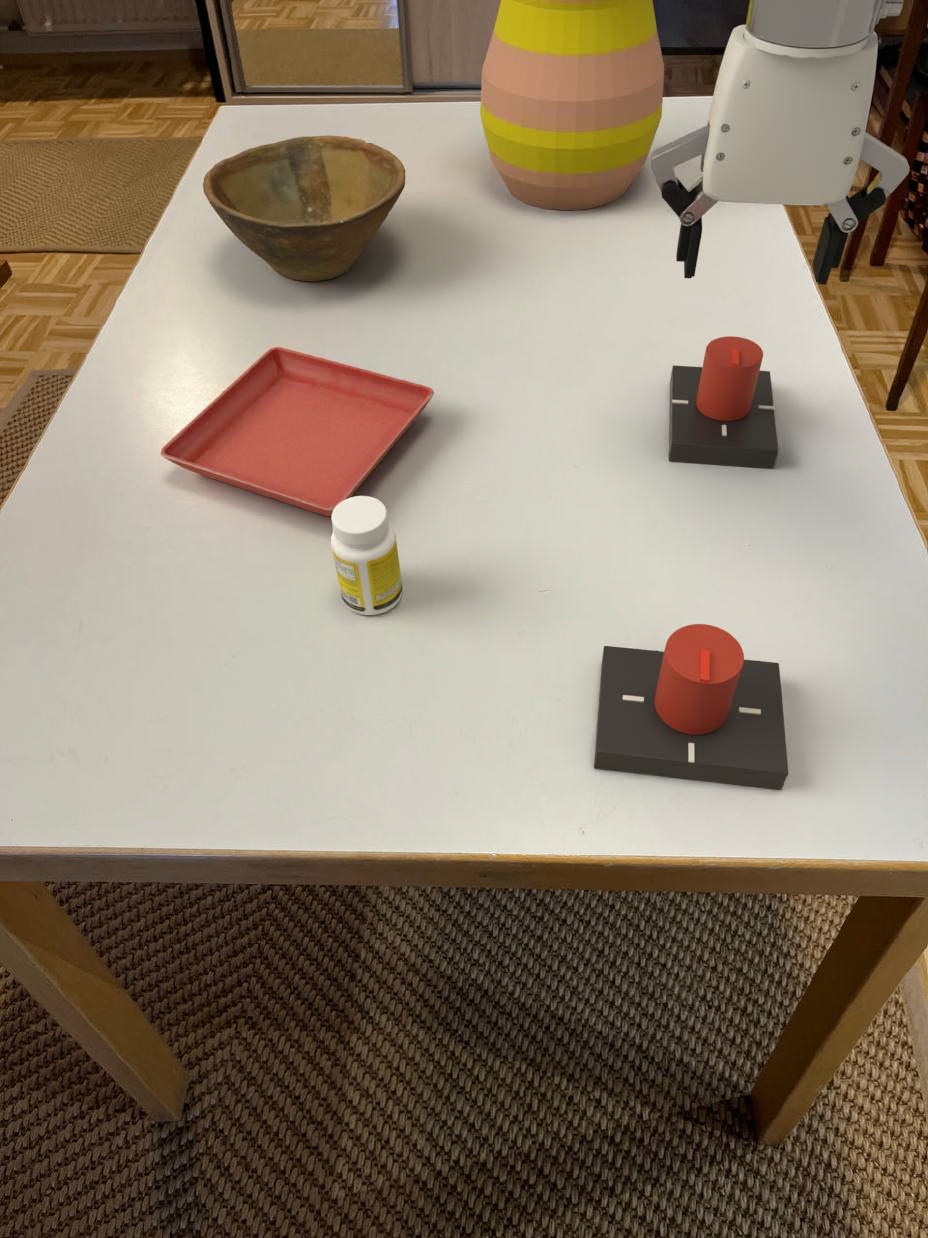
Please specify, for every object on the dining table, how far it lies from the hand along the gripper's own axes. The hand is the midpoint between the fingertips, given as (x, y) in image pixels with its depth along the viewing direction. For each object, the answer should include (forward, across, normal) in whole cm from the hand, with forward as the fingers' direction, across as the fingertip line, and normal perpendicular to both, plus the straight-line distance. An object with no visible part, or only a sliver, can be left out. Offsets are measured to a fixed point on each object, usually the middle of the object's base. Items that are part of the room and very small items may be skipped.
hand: (753, 272), depth 70 cm
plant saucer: (+17, +37, +4) cm, 41 cm away
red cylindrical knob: (+15, 0, -4) cm, 15 cm away
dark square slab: (+17, 0, -4) cm, 17 cm away
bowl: (+17, +44, -30) cm, 56 cm away
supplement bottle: (+17, +27, +21) cm, 38 cm away
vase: (+17, +17, -53) cm, 58 cm away
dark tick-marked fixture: (+16, +3, +30) cm, 35 cm away
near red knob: (+14, +3, +30) cm, 34 cm away
